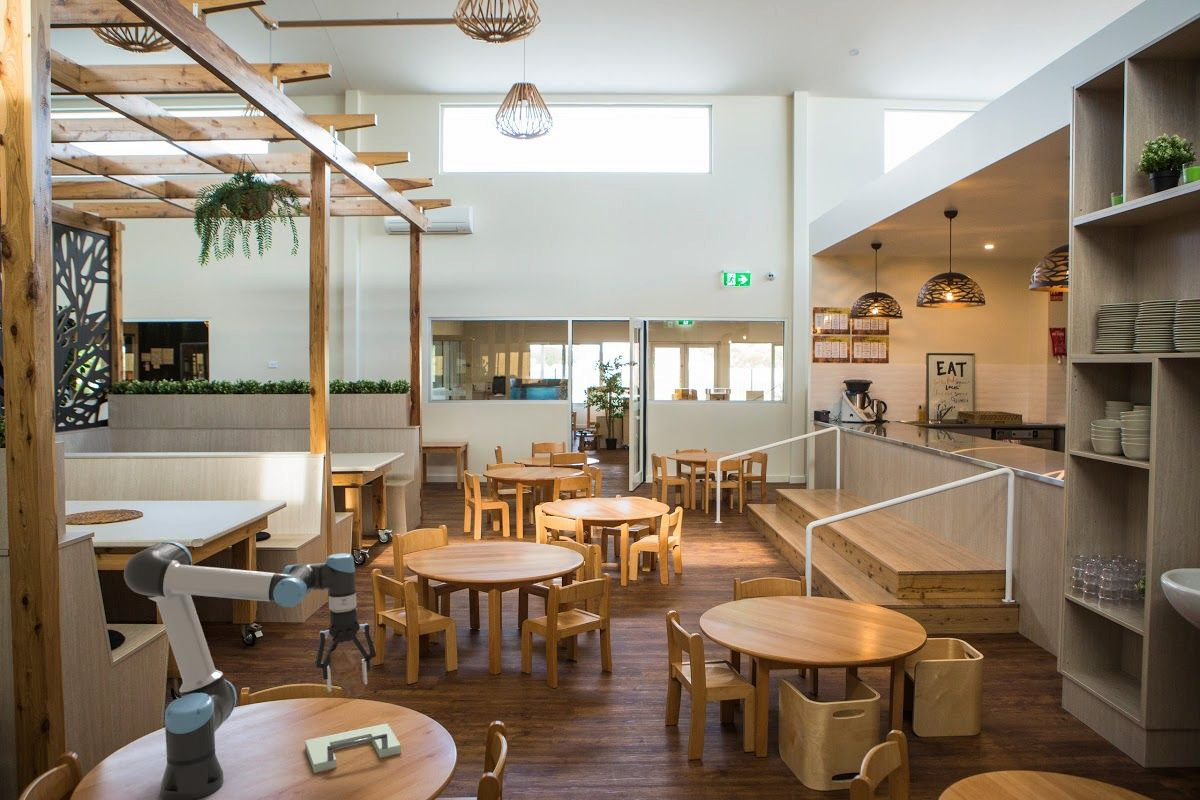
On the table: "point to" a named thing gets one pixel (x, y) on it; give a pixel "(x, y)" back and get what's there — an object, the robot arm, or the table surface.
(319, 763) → the pale green u-shaped slab
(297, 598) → the robot arm
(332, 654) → the figurine
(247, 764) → the table surface
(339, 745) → the bar handle
